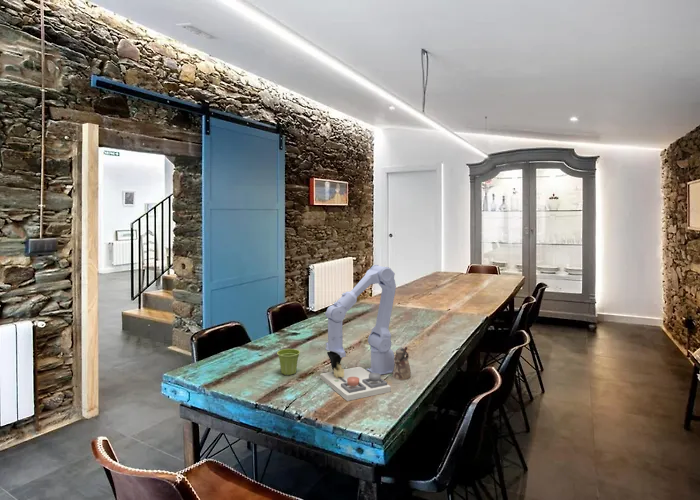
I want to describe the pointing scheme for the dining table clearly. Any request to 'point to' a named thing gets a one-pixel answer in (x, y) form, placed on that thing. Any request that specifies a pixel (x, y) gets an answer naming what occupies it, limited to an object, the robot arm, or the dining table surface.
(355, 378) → the red button
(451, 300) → the dining table surface
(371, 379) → the grey button
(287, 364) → the plant pot
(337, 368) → the brass slider
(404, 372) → the figurine
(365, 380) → the control board
